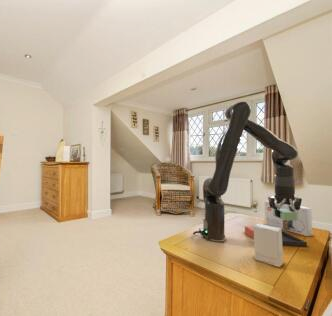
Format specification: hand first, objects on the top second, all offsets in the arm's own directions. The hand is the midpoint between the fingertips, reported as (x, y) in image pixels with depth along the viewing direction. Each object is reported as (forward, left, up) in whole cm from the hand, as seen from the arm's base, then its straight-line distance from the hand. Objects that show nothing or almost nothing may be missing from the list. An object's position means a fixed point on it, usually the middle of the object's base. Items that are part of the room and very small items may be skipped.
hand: (284, 217), depth 100 cm
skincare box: (+16, +22, -14) cm, 31 cm away
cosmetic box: (-22, -22, -14) cm, 34 cm away
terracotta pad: (-10, +8, -13) cm, 18 cm away
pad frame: (+1, +6, -13) cm, 15 cm away
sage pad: (0, 0, -1) cm, 1 cm away
